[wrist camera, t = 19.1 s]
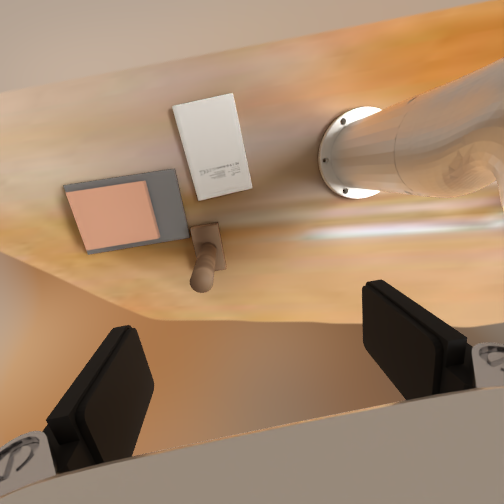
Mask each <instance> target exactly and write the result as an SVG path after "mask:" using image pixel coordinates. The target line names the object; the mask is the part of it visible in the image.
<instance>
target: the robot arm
mask: <svg viewBox="0 0 504 504" xmlns="http://www.w3.org/2000/svg"><path fill="white" fill-rule="evenodd" d="M340 121H341V122H342V124H340ZM323 159H325V162H323ZM318 164H319V169H320V173H321V175H322V178H323V180H324V181H325V183H326V184H327V186H328V187H329V188H330V189H331V190H332V191H333V192H335V193H337V194H338V195H340V196H343V197H346V198H351V199H361V198H367V197H370V196H373V195H375V194H376V193H378V192H380V191H383V192H392V193H401V194H410V195H418V196H427V197H439V198H451V197H458V196H463V195H466V194H470V193H473V192H475V191H478V190H480V189H482V188H484V187H486V186H488V185H490V184H491V183H493V182H495V181H497V184H498V188H499V194H500V200H501V205H502V207H503V212H504V57H503V58H501V59H499V60H497V61H495V62H494V63H492V64H489V65H487V66H485V67H483V68H481V69H479V70H476V71H474V72H472V73H470V74H468V75H465V76H463V77H461V78H459V79H456V80H454V81H452V82H449V83H447V84H444V85H442V86H439V87H437V88H435V89H432V90H430V91H427V92H425V93H422V94H420V95H417V96H415V97H412V98H410V99H407V100H405V101H403V102H400V103H398V104H395V105H393V106H390V107H388V108H385V109H383V110H381V109H379V108H375V107H370V106H367V107H358V108H354V109H352V110H350V111H347V112H346V113H344V114H342V115H341V116H339V117H338V118H337V119H336V120H335V121H334V122H332V124H331V125H330V126H329V128H328V129H327V130H326V132H325V134H324V136H323V138H322V141H321V144H320V147H319V154H318ZM343 189H344V192H343ZM362 313H363V343H364V346H365V348H366V350H367V351H368V353H369V354H370V355H371V356H372V358H373V359H374V360H375V361H376V362H377V364H378V365H379V366H380V368H381V369H382V370H383V371H384V373H385V374H386V375H387V376H388V378H389V379H390V380H391V381H392V383H393V384H394V385H395V387H396V388H397V389H398V390H399V392H400V393H401V394H402V395H403V396H404V398H405V399H406V400H405V401H399V402H394V403H389V404H385V405H379V406H375V407H369V408H364V409H359V410H354V411H349V412H345V413H339V414H335V415H330V416H324V417H319V418H314V419H310V420H304V421H299V422H295V423H290V424H285V425H280V426H275V427H270V428H266V429H260V430H256V431H251V432H246V433H241V434H236V435H231V436H227V437H222V438H217V439H213V440H208V441H203V442H199V443H194V444H189V445H184V446H179V447H175V448H170V449H166V450H161V451H156V452H151V453H146V454H142V455H137V456H133V457H132V454H133V451H134V448H135V445H136V442H137V439H138V436H139V433H140V430H141V427H142V424H143V421H144V418H145V415H146V412H147V409H148V406H149V403H150V400H151V397H152V394H153V391H154V381H153V378H152V375H151V372H150V369H149V366H148V363H147V360H146V357H145V354H144V351H143V348H142V345H141V342H140V339H139V336H138V333H137V330H136V329H135V328H132V327H131V326H129V325H127V326H121V327H116V328H113V329H112V330H111V331H110V333H109V334H108V336H107V337H106V338H105V340H104V341H103V342H102V344H101V345H100V346H99V348H98V349H97V351H96V352H95V353H94V355H93V356H92V357H91V359H90V360H89V362H88V363H87V364H86V366H85V367H84V369H83V370H82V371H81V373H80V374H79V375H78V377H77V378H76V379H75V381H74V382H73V383H72V385H71V386H70V388H69V389H68V390H67V392H66V393H65V394H64V396H63V397H62V399H61V400H60V401H59V403H58V404H57V405H56V407H55V408H54V410H53V411H52V412H51V414H50V415H49V416H48V418H47V419H46V421H47V423H48V425H47V426H46V427H45V429H44V430H43V432H41V431H33V432H29V433H26V434H23V435H20V436H19V437H17V438H15V439H13V440H11V441H10V442H8V443H7V444H5V445H4V446H2V447H1V448H0V504H504V344H500V343H492V342H488V343H480V344H476V345H475V346H474V347H472V346H471V345H469V344H468V343H467V337H465V336H464V335H463V334H461V333H460V332H458V331H457V330H455V329H454V328H452V327H451V326H449V325H448V324H446V323H445V322H444V321H442V320H441V319H439V318H438V317H436V316H435V315H433V314H432V313H430V312H429V311H427V310H426V309H424V308H423V307H422V306H420V305H419V304H417V303H416V302H414V301H413V300H411V299H410V298H408V297H407V296H405V295H404V294H402V293H401V292H399V291H398V290H397V289H395V288H394V287H392V286H391V285H389V284H388V283H386V282H385V281H383V280H375V281H370V282H367V283H366V286H363V288H362Z"/></svg>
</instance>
